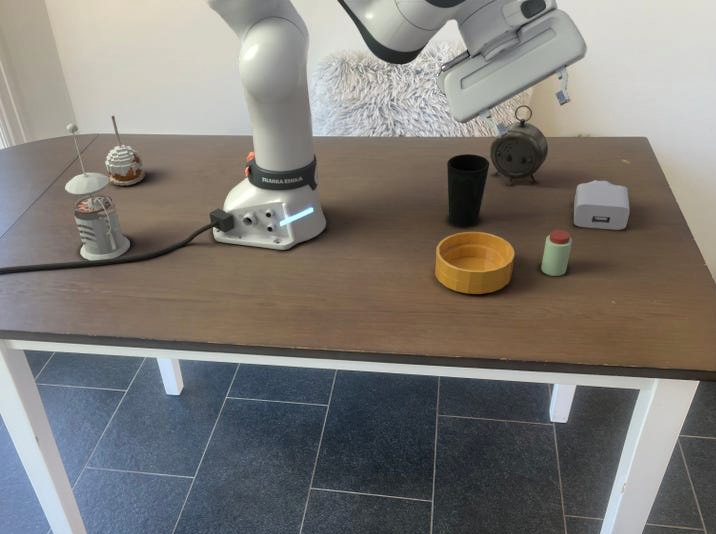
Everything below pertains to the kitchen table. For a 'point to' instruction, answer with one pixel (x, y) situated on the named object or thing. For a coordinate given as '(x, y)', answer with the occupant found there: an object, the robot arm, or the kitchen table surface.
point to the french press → (95, 215)
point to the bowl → (474, 262)
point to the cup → (466, 188)
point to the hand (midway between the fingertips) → (533, 119)
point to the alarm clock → (519, 150)
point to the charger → (601, 205)
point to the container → (556, 253)
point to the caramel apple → (123, 163)
